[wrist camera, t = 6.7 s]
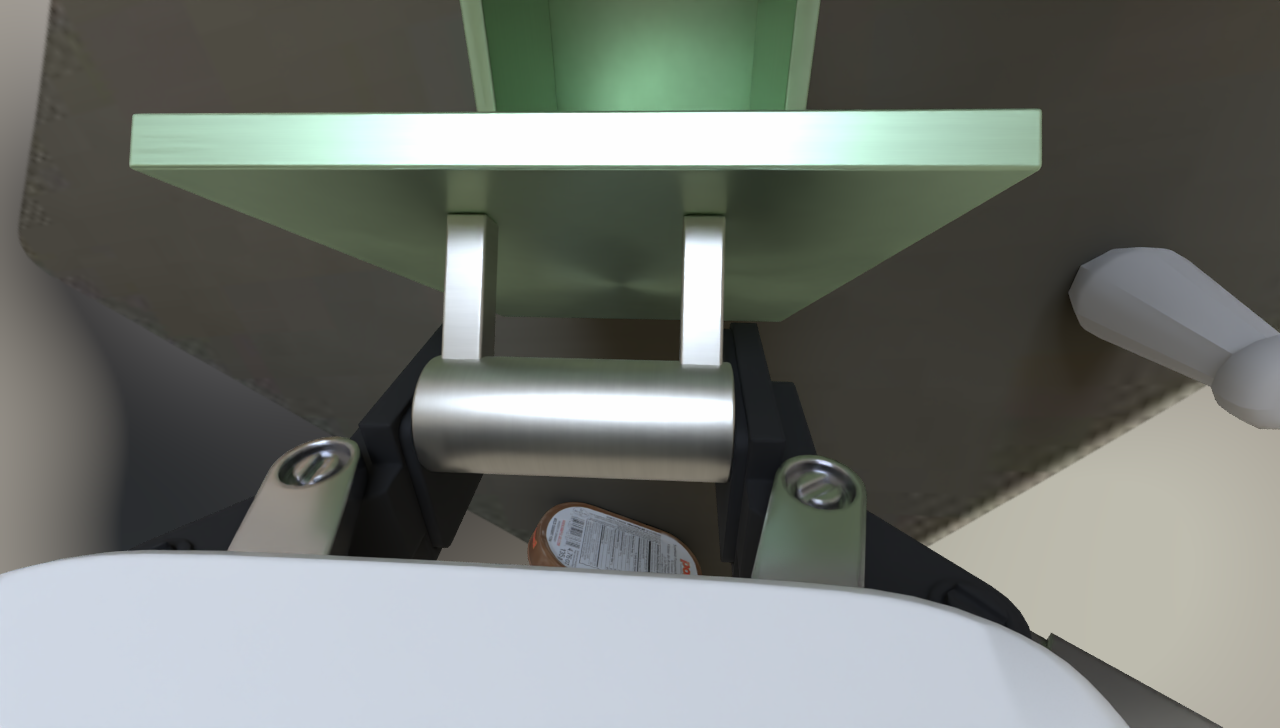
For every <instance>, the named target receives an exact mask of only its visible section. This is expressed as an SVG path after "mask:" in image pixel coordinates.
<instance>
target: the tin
mask: <svg viewBox="0 0 1280 728" xmlns="http://www.w3.org/2000/svg"><path fill="white" fill-rule="evenodd" d="M528 560H529V563H530V566H548V567H566V568H585V569H602V570H619V571H636V572H653V573H670V574H687V575H702V572H701V568H700V565H699V563H698V561H697V559H696V557H695V556H694V554H693V553H692V552H691V551H690V549H689V548H688V547H687V546H686V545H685V544H684V543H682V542H681V541H680V540H679V539H677V538H676V537H674V536H673V535H671V534H669V533H667V532H665V531H662V530H659V529H656V528H654V527H651V526H648V525H645V524H643V523H640V522H637V521H634V520H632V519H629V518H626V517H623V516H621V515H618V514H615V513H612V512H609V511H607V510H604V509H601V508H598V507H596V506H593V505H590V504H586V503H581V502H567V503H563V504H559V505H557V506H555V507H553V508H551V509H550V510H549V511H547V512H546V513H545V515H544V516H543V517H542V519H541V520H540V522H539V524H538V526H537V528H536V530H535V531H534V532H533V534H532V536H531V538H530V540H529V543H528Z"/></svg>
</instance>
